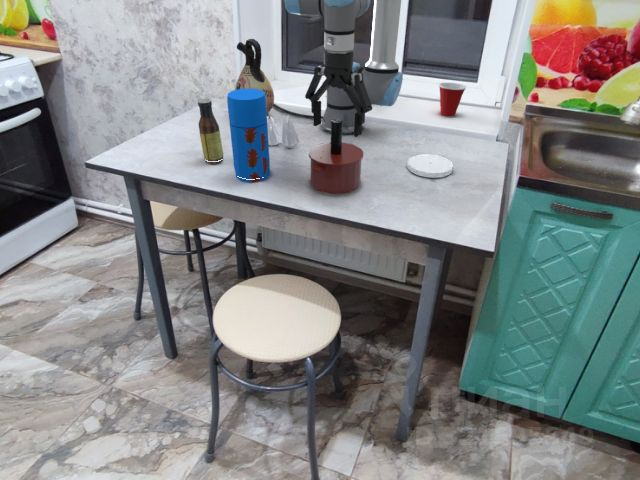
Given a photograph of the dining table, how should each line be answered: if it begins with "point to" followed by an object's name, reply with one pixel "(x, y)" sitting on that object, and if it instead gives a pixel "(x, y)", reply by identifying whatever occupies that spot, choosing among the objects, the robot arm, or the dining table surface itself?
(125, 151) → the dining table surface
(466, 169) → the dining table surface
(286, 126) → the shaker set
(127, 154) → the dining table surface
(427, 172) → the plastic lid
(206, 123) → the sauce bottle
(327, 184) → the pot
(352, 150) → the lid
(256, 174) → the thermos
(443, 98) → the plastic cup
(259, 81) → the ceramic jug
